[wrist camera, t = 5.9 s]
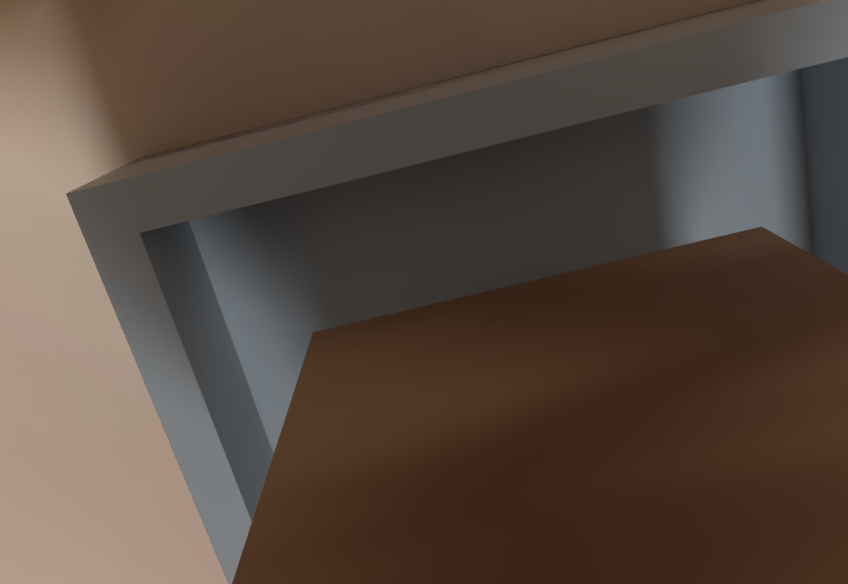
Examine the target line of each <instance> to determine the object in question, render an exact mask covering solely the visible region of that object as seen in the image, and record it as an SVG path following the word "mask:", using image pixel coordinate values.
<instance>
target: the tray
mask: <svg viewBox="0 0 848 584" xmlns="http://www.w3.org/2000/svg"><path fill="white" fill-rule="evenodd" d="M66 195H67V197H68V200H69V202H70V204H71V207H72V209H73V212H74V214H75V216H76V219H77V221H78V224H79V226H80V228H81V231H82V233H83V236H84V238H85V240H86V243H87V245H88V248H89V250H90V252H91V255H92V257H93V260H94V262H95V264H96V267H97V269H98V272H99V274H100V276H101V279H102V281H103V284H104V286H105V289H106V291H107V293H108V296H109V298H110V301H111V303H112V305H113V308H114V310H115V313H116V315H117V317H118V320H119V322H120V325H121V327H122V329H123V332H124V334H125V337H126V339H127V341H128V344H129V346H130V349H131V351H132V353H133V356H134V358H135V361H136V363H137V365H138V368H139V370H140V373H141V375H142V377H143V380H144V382H145V385H146V387H147V389H148V392H149V394H150V397H151V399H152V401H153V404H154V406H155V409H156V411H157V413H158V416H159V418H160V421H161V423H162V425H163V428H164V430H165V433H166V435H167V437H168V440H169V442H170V445H171V447H172V449H173V452H174V454H175V457H176V459H177V461H178V464H179V466H180V469H181V471H182V473H183V476H184V478H185V481H186V483H187V485H188V488H189V490H190V493H191V495H192V497H193V500H194V502H195V505H196V507H197V509H198V512H199V514H200V517H201V519H202V521H203V524H204V526H205V529H206V531H207V533H208V536H209V538H210V541H211V543H212V545H213V548H214V550H215V553H216V555H217V557H218V560H219V562H220V565H221V567H222V569H223V572H224V574H225V577H226V579H227V581H228V584H232V582H233V579H234V576H235V573H236V570H237V567H238V564H239V560H240V557H241V554H242V551H243V548H244V545H245V542H246V539H247V536H248V532H249V529H250V526H251V523H252V520H253V517H254V514H255V511H256V508H257V505H258V501H259V498H260V495H261V492H262V489H263V486H264V483H265V480H266V477H267V473H268V470H269V467H270V464H271V461H272V458H273V455H274V452H275V449H276V445H277V442H278V439H279V436H280V433H281V430H282V427H283V424H284V421H285V417H286V414H287V411H288V408H289V405H290V402H291V399H292V396H293V393H294V390H295V386H296V383H297V380H298V377H299V374H300V371H301V368H302V365H303V362H304V358H305V355H306V352H307V349H308V346H309V343H310V340H311V337H312V334H313V332H316V331H320V330H325V329H329V328H333V327H337V326H342V325H346V324H350V323H354V322H359V321H363V320H367V319H371V318H376V317H380V316H384V315H388V314H393V313H397V312H401V311H405V310H409V309H414V308H418V307H422V306H426V305H431V304H435V303H439V302H443V301H448V300H452V299H456V298H460V297H465V296H469V295H473V294H477V293H482V292H486V291H490V290H494V289H499V288H503V287H507V286H511V285H516V284H520V283H524V282H528V281H533V280H537V279H541V278H545V277H549V276H554V275H558V274H562V273H566V272H571V271H575V270H579V269H583V268H588V267H592V266H596V265H600V264H605V263H609V262H613V261H617V260H622V259H626V258H630V257H634V256H639V255H643V254H647V253H651V252H656V251H660V250H664V249H668V248H673V247H677V246H681V245H685V244H689V243H694V242H698V241H702V240H706V239H711V238H715V237H719V236H723V235H728V234H732V233H736V232H740V231H745V230H749V229H753V228H757V227H764V228H766V229H767V230H769V231H771V232H773V233H774V234H776V235H778V236H780V237H781V238H783V239H785V240H787V241H788V242H790V243H792V244H794V245H795V246H797V247H799V248H801V249H803V250H804V251H806V252H808V253H810V254H811V255H813V256H815V257H817V258H818V259H820V260H822V261H824V262H825V263H827V264H829V265H831V266H832V267H834V268H836V269H838V270H840V271H841V272H843V273H845V274H847V275H848V0H759V1H755V2H751V3H747V4H743V5H740V6H736V7H732V8H728V9H724V10H720V11H716V12H712V13H708V14H704V15H700V16H696V17H693V18H689V19H685V20H681V21H677V22H673V23H669V24H665V25H661V26H657V27H653V28H649V29H645V30H642V31H638V32H634V33H630V34H626V35H622V36H618V37H614V38H610V39H606V40H602V41H598V42H595V43H591V44H587V45H583V46H579V47H575V48H571V49H567V50H563V51H559V52H555V53H551V54H548V55H544V56H540V57H536V58H532V59H528V60H524V61H520V62H516V63H512V64H508V65H504V66H500V67H497V68H493V69H489V70H485V71H481V72H477V73H473V74H469V75H465V76H461V77H457V78H453V79H450V80H446V81H442V82H438V83H434V84H430V85H426V86H422V87H418V88H414V89H410V90H406V91H402V92H399V93H395V94H391V95H387V96H383V97H379V98H375V99H371V100H367V101H363V102H359V103H355V104H352V105H348V106H344V107H340V108H336V109H332V110H328V111H324V112H320V113H316V114H312V115H308V116H305V117H301V118H297V119H293V120H289V121H285V122H281V123H277V124H273V125H269V126H265V127H261V128H257V129H254V130H250V131H246V132H242V133H238V134H234V135H230V136H226V137H222V138H218V139H214V140H210V141H207V142H203V143H199V144H195V145H191V146H187V147H183V148H179V149H175V150H171V151H167V152H163V153H159V154H156V155H152V156H148V157H144V158H140V159H136V160H134V161H132V162H130V163H128V164H126V165H124V166H122V167H120V168H118V169H116V170H114V171H112V172H110V173H108V174H106V175H103V176H101V177H99V178H97V179H95V180H93V181H91V182H89V183H87V184H85V185H83V186H81V187H79V188H77V189H75V190H73V191H71V192H68V193H66Z"/></svg>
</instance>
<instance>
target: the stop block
mask: <svg viewBox="0 0 848 584" xmlns="http://www.w3.org/2000/svg"><path fill="white" fill-rule="evenodd" d="M232 584H848V275H847V274H845V273H843V272H841V271H840V270H838V269H836V268H834V267H832V266H831V265H829V264H827V263H825V262H824V261H822V260H820V259H818V258H817V257H815V256H813V255H811V254H810V253H808V252H806V251H804V250H803V249H801V248H799V247H797V246H795V245H794V244H792V243H790V242H788V241H787V240H785V239H783V238H781V237H780V236H778V235H776V234H774V233H773V232H771V231H769V230H767V229H766V228H764V227H757V228H753V229H749V230H745V231H740V232H736V233H732V234H728V235H723V236H719V237H715V238H711V239H706V240H702V241H698V242H694V243H689V244H685V245H681V246H677V247H673V248H668V249H664V250H660V251H656V252H651V253H647V254H643V255H639V256H634V257H630V258H626V259H622V260H617V261H613V262H609V263H605V264H600V265H596V266H592V267H588V268H583V269H579V270H575V271H571V272H566V273H562V274H558V275H554V276H549V277H545V278H541V279H537V280H533V281H528V282H524V283H520V284H516V285H511V286H507V287H503V288H499V289H494V290H490V291H486V292H482V293H477V294H473V295H469V296H465V297H460V298H456V299H452V300H448V301H443V302H439V303H435V304H431V305H426V306H422V307H418V308H414V309H409V310H405V311H401V312H397V313H393V314H388V315H384V316H380V317H376V318H371V319H367V320H363V321H359V322H354V323H350V324H346V325H342V326H337V327H333V328H329V329H325V330H320V331H316V332H313V334H312V337H311V340H310V343H309V346H308V349H307V352H306V355H305V358H304V362H303V365H302V368H301V371H300V374H299V377H298V380H297V383H296V386H295V390H294V393H293V396H292V399H291V402H290V405H289V408H288V411H287V414H286V417H285V421H284V424H283V427H282V430H281V433H280V436H279V439H278V442H277V445H276V449H275V452H274V455H273V458H272V461H271V464H270V467H269V470H268V473H267V477H266V480H265V483H264V486H263V489H262V492H261V495H260V498H259V501H258V505H257V508H256V511H255V514H254V517H253V520H252V523H251V526H250V529H249V532H248V536H247V539H246V542H245V545H244V548H243V551H242V554H241V557H240V560H239V564H238V567H237V570H236V573H235V576H234V579H233V582H232Z"/></svg>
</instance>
